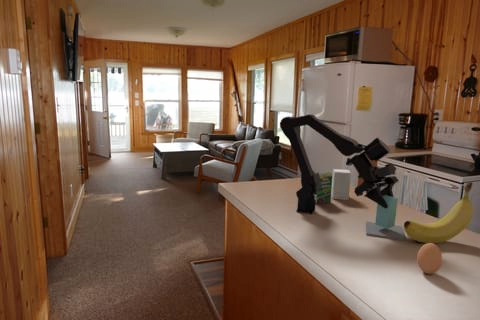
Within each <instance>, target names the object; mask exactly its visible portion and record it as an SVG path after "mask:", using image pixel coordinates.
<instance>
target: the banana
mask: <svg viewBox="0 0 480 320" xmlns="http://www.w3.org/2000/svg"><path fill="white" fill-rule="evenodd" d="M472 187H473V182H472V181H468V182H467V183H466V184H465V185H464V186H463V190H464V193H463V197H462V198H461V199H460V200H459V201H457V203H456V204H455V205H454V206H453V207H452V208H451V209H450V211H448V213H447V214H445V216H443V217H442V218H440V219H439V220H436V221H435V222H431V223H421V222H417V221H412V220H406V221H404V222H403V223H404V224H403V231H404V233H406V235H407V236H408V237H409V238H411V239H413V240H414V241H417V242H420V243H424V244H427V243H433V244H439V243H445V242H446V241H449V240H452V239H453V238H455V237H456V236H458V235H459V234H461V233H462V232H463V231H464V230H466V228H467V227H468V226H469V224H470V223H471V221H472V219H473V217H474V216H473V214H474V208H473V205H472V202H471V201H470V197H469V194H470V191H471V190H472Z"/></svg>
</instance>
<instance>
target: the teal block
mask: <svg viewBox="0 0 480 320" xmlns="http://www.w3.org/2000/svg"><path fill="white" fill-rule="evenodd" d="M383 198H384V200H385V202H386V203H387V206H388V208H386V209H385V208H384V207H382V206H380V205H379V204H377V203H376V204H377V205H376V206H377V207H376V215H375V222H374V223H375V225H378V226H381V227H384V228H387V229H388V228H390V227H393V226H395V225H396V216H397V207H398V202H399V199H398V197H395V196H394V197H391V196H387V195H384V196H383Z"/></svg>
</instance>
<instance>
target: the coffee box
mask: <svg viewBox="0 0 480 320" xmlns="http://www.w3.org/2000/svg"><path fill="white" fill-rule="evenodd" d="M319 175H320V179H321V180H322V182H321V188H320V190H319V191H317V192H316V194H315V195H313V196H315V199H314V200H316V205H321V204H327V203H331V202H332V195H331V192H332V180H333V172H323V173H319Z"/></svg>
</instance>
